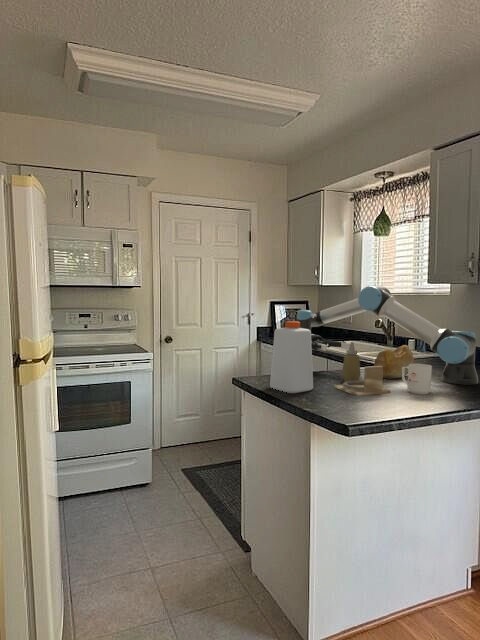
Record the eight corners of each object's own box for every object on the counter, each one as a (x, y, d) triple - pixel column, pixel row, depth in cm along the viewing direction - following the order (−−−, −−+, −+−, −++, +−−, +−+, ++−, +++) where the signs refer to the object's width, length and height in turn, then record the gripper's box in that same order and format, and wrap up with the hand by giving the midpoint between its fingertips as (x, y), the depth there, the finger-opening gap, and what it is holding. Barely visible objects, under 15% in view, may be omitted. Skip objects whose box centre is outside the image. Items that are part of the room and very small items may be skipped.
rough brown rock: (390, 372, 231) (388, 343, 231) (419, 374, 218) (418, 344, 218) (361, 378, 218) (359, 348, 217) (391, 381, 204) (389, 349, 204)
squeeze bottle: (350, 384, 196) (351, 343, 195) (338, 381, 203) (339, 341, 202) (364, 382, 200) (365, 342, 199) (351, 379, 207) (353, 340, 206)
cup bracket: (333, 387, 190) (334, 361, 189) (364, 384, 196) (365, 359, 195) (357, 395, 175) (358, 368, 174) (390, 392, 181) (391, 365, 180)
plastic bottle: (265, 387, 187) (266, 321, 185) (291, 383, 196) (293, 320, 194) (290, 395, 175) (292, 323, 173) (317, 390, 184) (319, 322, 182)
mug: (434, 392, 182) (435, 365, 182) (424, 395, 177) (425, 368, 176) (407, 387, 192) (408, 361, 191) (396, 390, 186) (397, 363, 185)
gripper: (333, 348, 234) (359, 354, 215) (292, 350, 224) (315, 356, 205) (334, 334, 234) (360, 338, 214) (292, 335, 224) (315, 340, 204)
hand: (338, 347), depth 210 cm, fingers open, 13 cm apart
